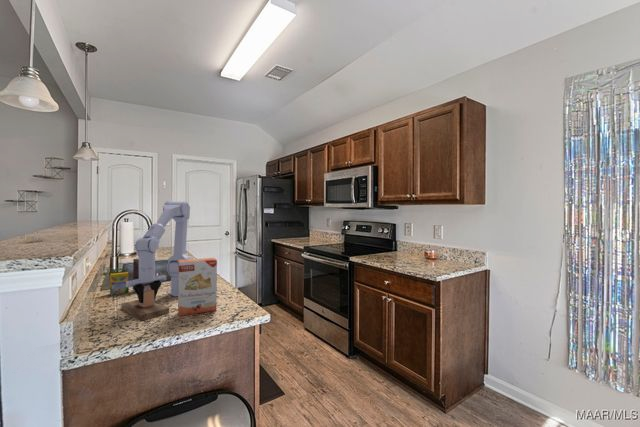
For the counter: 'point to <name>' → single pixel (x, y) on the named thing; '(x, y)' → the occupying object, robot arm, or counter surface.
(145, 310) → the notched board
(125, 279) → the crayon box
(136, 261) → the supplement box
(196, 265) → the cracker box
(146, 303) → the terracotta plug
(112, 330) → the counter surface
